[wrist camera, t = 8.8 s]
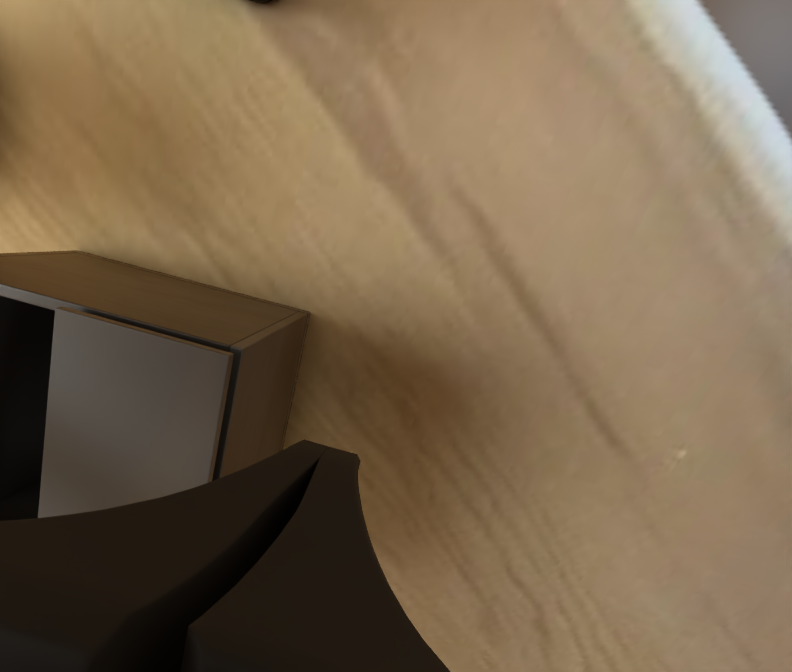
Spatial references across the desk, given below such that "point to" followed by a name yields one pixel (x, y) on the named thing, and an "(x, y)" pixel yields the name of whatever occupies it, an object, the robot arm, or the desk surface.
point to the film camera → (261, 1)
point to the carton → (149, 309)
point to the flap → (127, 414)
